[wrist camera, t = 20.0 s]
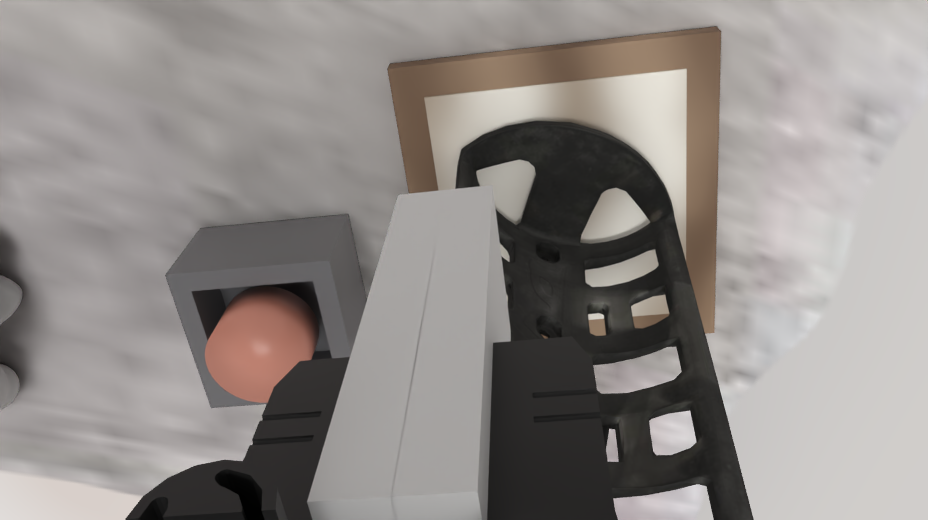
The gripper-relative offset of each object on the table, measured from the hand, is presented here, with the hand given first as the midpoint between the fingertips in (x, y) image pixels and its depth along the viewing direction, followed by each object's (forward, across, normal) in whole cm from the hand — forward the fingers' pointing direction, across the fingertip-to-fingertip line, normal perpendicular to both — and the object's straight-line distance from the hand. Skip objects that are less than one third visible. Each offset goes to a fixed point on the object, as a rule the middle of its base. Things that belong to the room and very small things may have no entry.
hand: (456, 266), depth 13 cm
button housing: (+26, -13, -15) cm, 32 cm away
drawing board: (+26, +2, -11) cm, 28 cm away
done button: (+22, -13, -15) cm, 29 cm away
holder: (+25, +2, -11) cm, 28 cm away
